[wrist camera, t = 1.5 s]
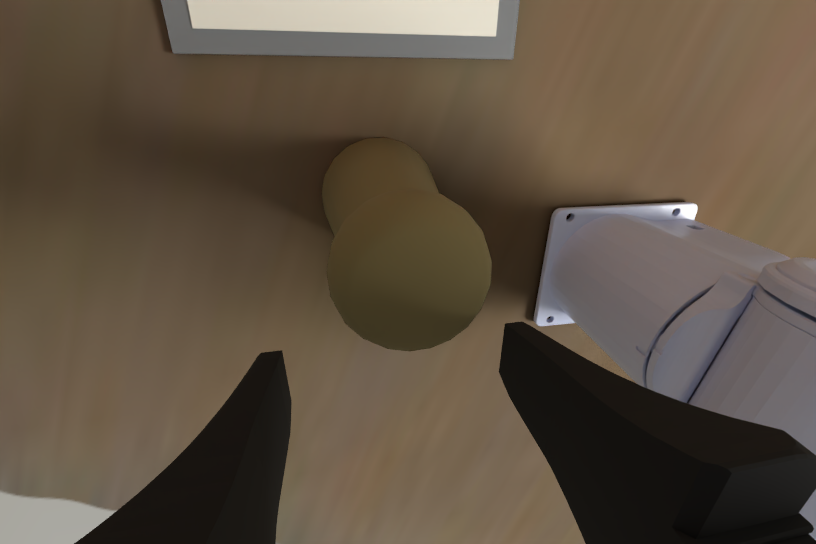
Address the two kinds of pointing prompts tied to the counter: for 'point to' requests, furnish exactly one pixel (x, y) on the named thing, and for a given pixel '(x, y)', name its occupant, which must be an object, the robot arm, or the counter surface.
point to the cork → (400, 249)
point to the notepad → (344, 28)
